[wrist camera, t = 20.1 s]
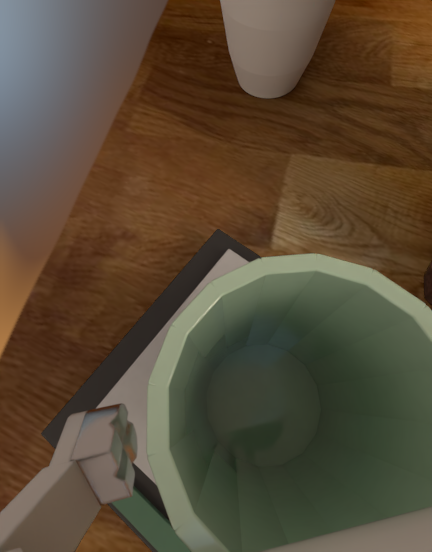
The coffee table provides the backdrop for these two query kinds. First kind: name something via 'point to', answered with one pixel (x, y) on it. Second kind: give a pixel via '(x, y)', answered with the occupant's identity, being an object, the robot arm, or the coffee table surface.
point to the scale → (134, 380)
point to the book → (428, 284)
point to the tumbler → (291, 405)
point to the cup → (273, 41)
